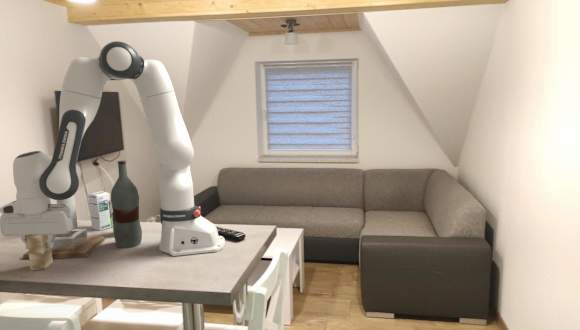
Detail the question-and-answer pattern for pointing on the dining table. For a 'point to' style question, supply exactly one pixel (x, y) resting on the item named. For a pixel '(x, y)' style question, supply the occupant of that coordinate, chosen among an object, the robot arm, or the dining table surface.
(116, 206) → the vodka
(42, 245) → the birch pin
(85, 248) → the walnut base
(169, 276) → the dining table surface
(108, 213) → the syrup box
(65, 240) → the steel collar
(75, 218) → the travel mug
